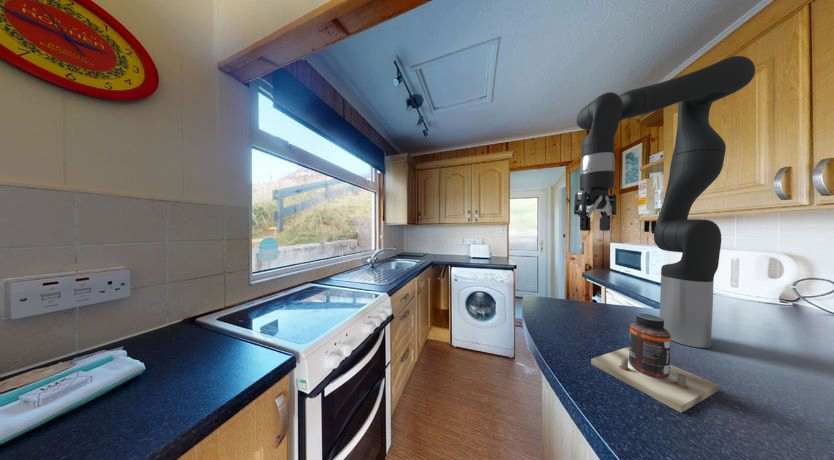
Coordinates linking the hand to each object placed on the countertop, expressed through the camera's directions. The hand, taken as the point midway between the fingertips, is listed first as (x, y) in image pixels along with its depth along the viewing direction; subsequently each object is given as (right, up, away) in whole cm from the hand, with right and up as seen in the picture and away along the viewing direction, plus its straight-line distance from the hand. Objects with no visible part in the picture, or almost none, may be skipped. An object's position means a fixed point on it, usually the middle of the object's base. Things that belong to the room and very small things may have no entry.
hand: (595, 230), depth 62 cm
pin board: (-1, -31, -16) cm, 34 cm away
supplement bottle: (-1, -29, -16) cm, 33 cm away
